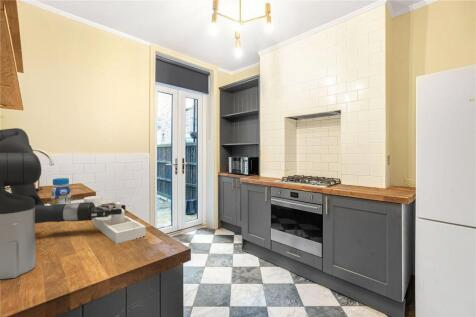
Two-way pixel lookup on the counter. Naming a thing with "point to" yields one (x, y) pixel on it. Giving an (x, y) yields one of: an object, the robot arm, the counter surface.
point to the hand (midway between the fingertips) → (123, 209)
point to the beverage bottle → (60, 191)
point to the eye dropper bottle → (119, 217)
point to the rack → (120, 229)
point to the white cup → (94, 200)
